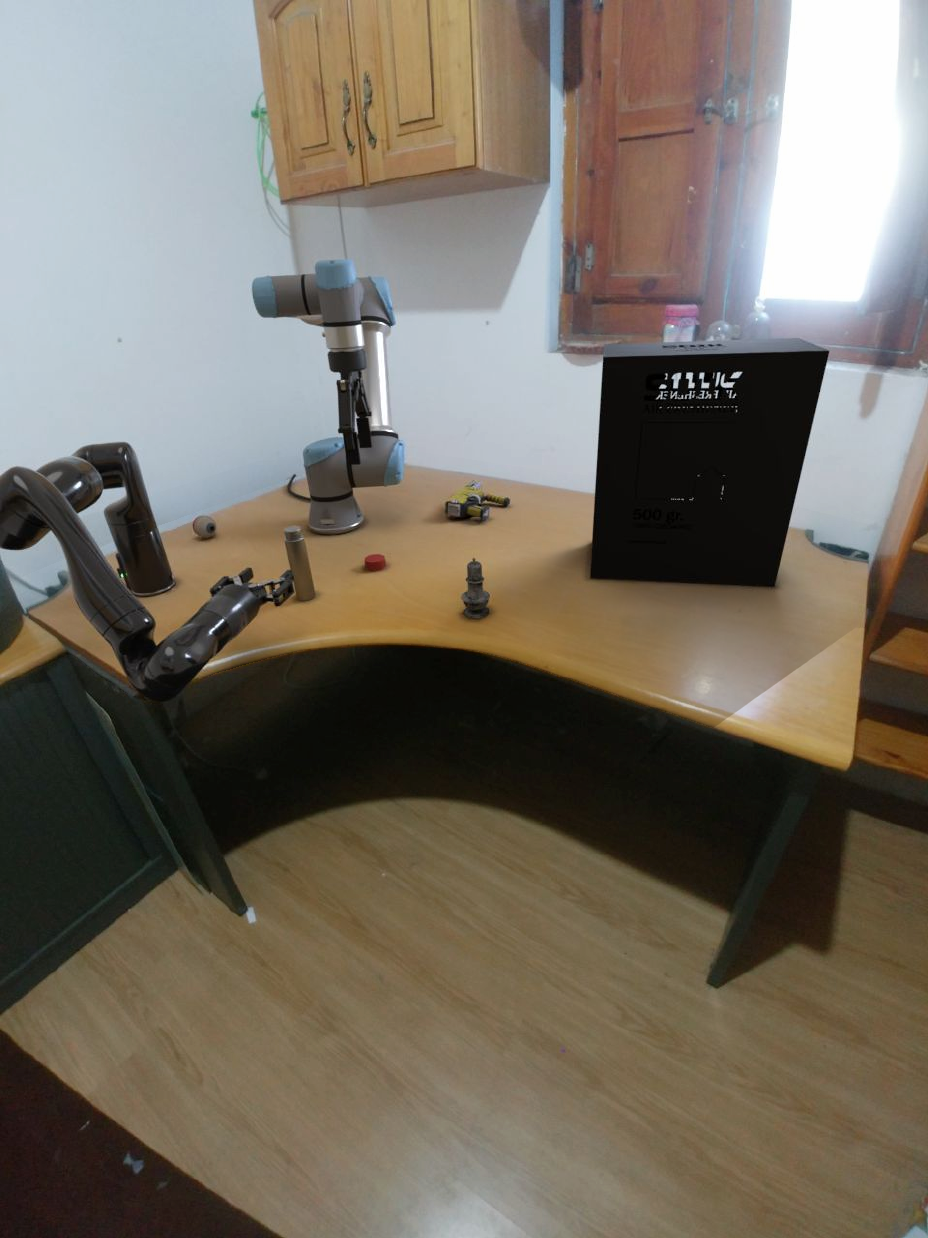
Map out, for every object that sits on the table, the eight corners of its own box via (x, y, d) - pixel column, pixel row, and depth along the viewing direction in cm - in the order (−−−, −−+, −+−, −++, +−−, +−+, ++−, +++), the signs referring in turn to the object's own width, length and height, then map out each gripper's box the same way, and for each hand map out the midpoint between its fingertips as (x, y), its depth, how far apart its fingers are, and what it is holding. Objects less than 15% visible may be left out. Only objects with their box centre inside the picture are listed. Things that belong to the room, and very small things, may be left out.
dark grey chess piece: (488, 619, 119) (486, 564, 113) (459, 618, 120) (455, 563, 114) (493, 605, 124) (491, 551, 118) (465, 604, 125) (462, 550, 119)
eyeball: (206, 542, 163) (200, 521, 160) (191, 538, 166) (185, 518, 163) (224, 534, 167) (218, 514, 164) (209, 531, 170) (203, 510, 167)
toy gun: (518, 485, 181) (471, 478, 185) (495, 509, 161) (443, 500, 165) (516, 500, 184) (470, 493, 188) (494, 525, 164) (442, 517, 168)
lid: (380, 560, 147) (379, 552, 146) (389, 567, 143) (388, 558, 142) (362, 566, 145) (361, 557, 144) (370, 573, 141) (369, 564, 140)
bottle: (302, 603, 130) (287, 533, 122) (293, 596, 132) (278, 528, 125) (319, 596, 132) (305, 528, 124) (309, 590, 135) (296, 523, 127)
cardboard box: (755, 547, 142) (798, 337, 120) (774, 586, 125) (829, 350, 102) (592, 542, 150) (603, 344, 127) (589, 578, 133) (603, 356, 110)
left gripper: (259, 598, 100) (301, 556, 114) (183, 593, 103) (233, 553, 117) (268, 636, 104) (308, 591, 118) (195, 630, 107) (242, 587, 121)
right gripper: (341, 343, 131) (354, 441, 142) (311, 358, 110) (330, 472, 120) (375, 341, 131) (386, 440, 142) (351, 356, 109) (367, 471, 120)
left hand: (270, 572), depth 117 cm, fingers open, 8 cm apart
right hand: (360, 455), depth 131 cm, fingers open, 13 cm apart
